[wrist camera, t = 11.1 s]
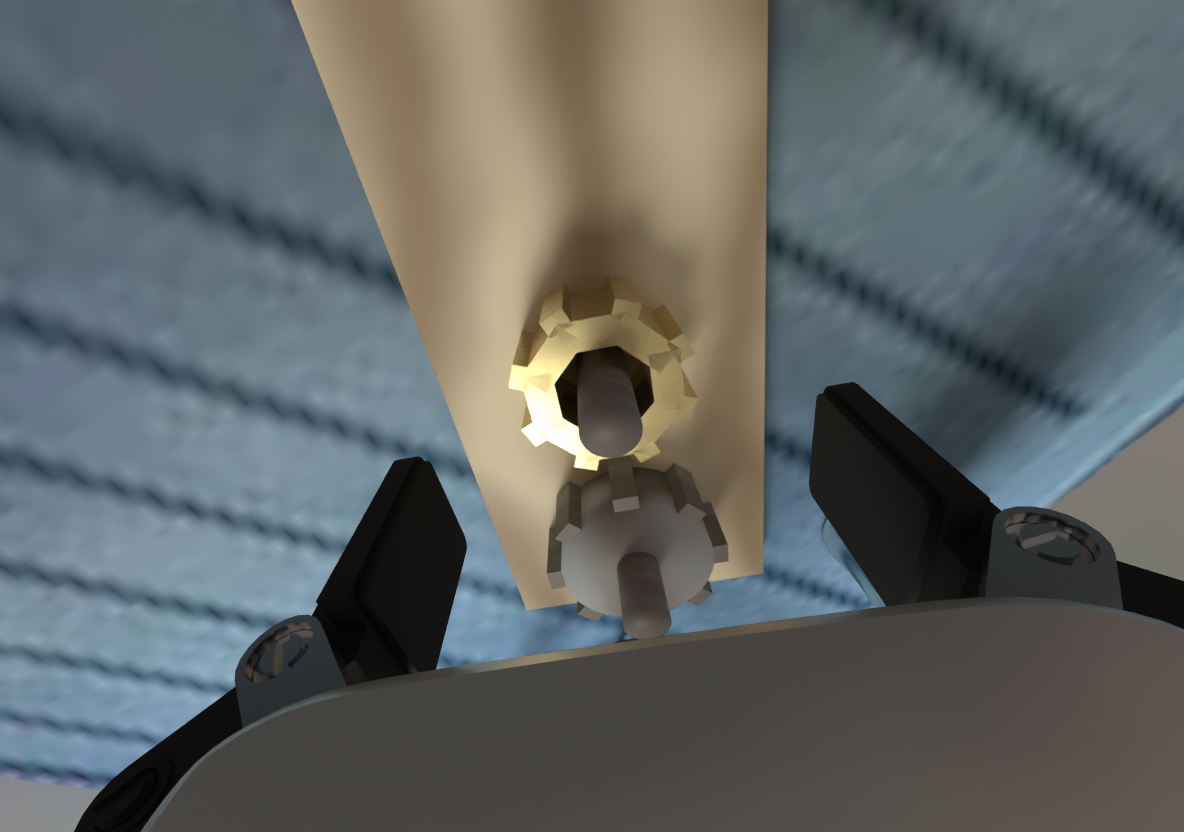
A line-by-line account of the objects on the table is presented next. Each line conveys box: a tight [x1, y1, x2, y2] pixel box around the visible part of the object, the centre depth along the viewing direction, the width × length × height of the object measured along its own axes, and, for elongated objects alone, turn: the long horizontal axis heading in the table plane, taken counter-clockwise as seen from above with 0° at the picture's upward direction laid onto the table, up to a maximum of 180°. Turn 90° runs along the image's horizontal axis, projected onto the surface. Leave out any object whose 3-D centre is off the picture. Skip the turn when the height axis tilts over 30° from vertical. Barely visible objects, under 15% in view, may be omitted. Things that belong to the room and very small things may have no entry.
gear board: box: [291, 0, 768, 639], centre depth 18 cm, size 14×29×8 cm, turn 10°
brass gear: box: [509, 275, 698, 471], centre depth 18 cm, size 7×7×4 cm
